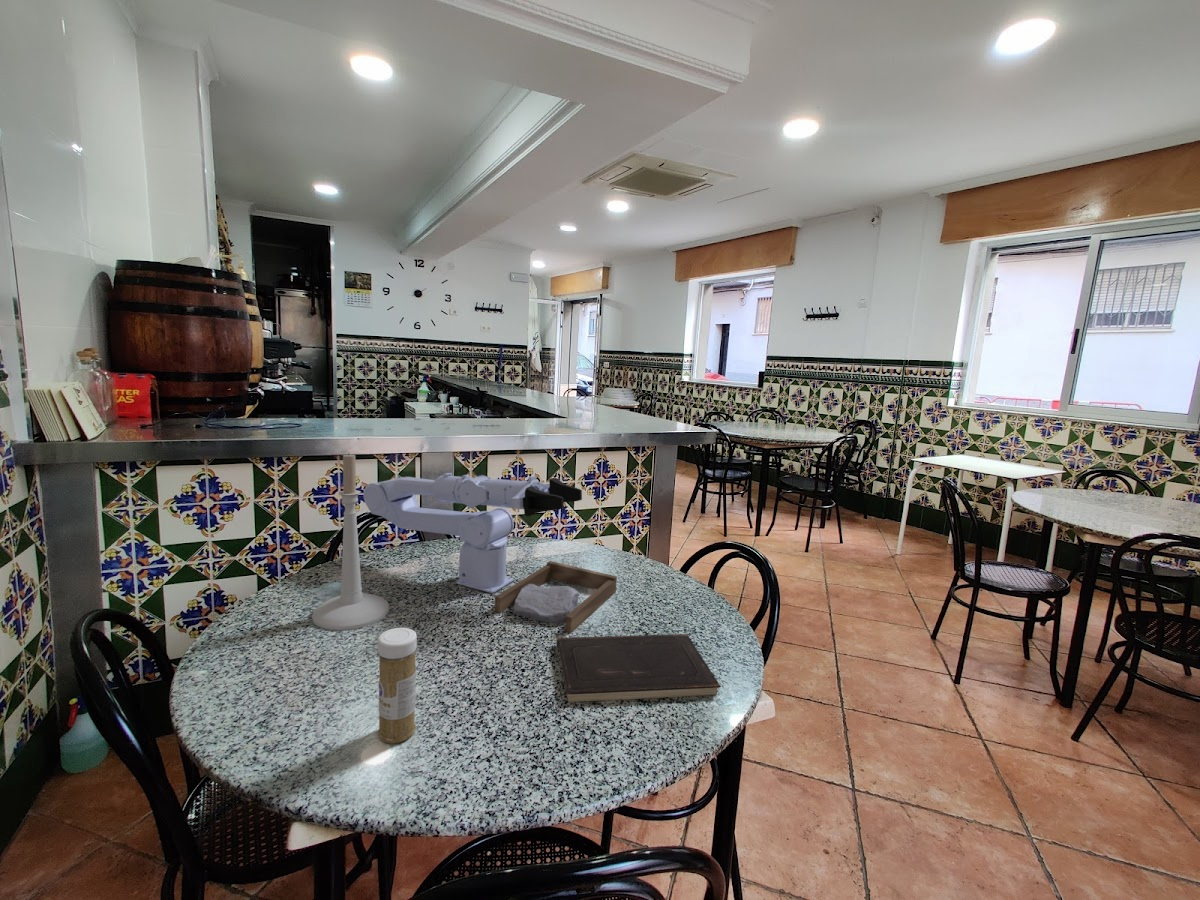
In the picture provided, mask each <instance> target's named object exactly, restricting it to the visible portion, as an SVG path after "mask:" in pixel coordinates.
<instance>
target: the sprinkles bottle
mask: <svg viewBox="0 0 1200 900" xmlns="http://www.w3.org/2000/svg"><path fill="white" fill-rule="evenodd" d="M417 642H418V637H417V633H416V631H414V630H413V629H411V628H407V627H395V628H391V629H388V630H385V631H384V632H382V633H381V634H380V635H379V636H378V638H377V653H378V657H379V660H378V661H379V679H378V716H379V717H378V718H379V720H378V723H379V724H378V725H379V727H378V731H377V732H378V733H377V735H378V738H379V739H380V740H381V741H382V742H383V743H387V744H398V743H402V742H404V741H406V740H408V739H409V738H411V737H412V736H413V735H414V734H415V732H416V727H417V726H416V722H415V721H416V720H415V717H416V716H415V715H416V714H415V712H416V711H415V709H416V697H417V695H416V694H417V691H416V689H417V687H416V685H417V684H416V681H417V680H416V678H417V677H416V675H417V672H416V671H417V670H416V650H417V647H418V643H417Z"/></svg>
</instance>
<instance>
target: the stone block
mask: <svg viewBox="0 0 1200 900" xmlns="http://www.w3.org/2000/svg"><path fill="white" fill-rule="evenodd" d="M578 600H579V592H578V591H577V589H576V588H574V587H572V586H568V585H554V586H553V585H552V586H551V587H544V586H539V587H538V586H536V585H534V584H528V585H526V586H525V587H523V588H522V589H521V591H520V593H519V594H518V596H517V598H516V600H515V603H514V604H513V612H514V614H515V615H517V616H521V617H525V618H529V619H533V620H536V621H540V622H543V623H550V624H554V625H555V624H565V621H566V616H567V615H568V614H569V613H570V612H571V611H572V610H574V609H575V608H576V607H577V606H578V603H579V601H578Z"/></svg>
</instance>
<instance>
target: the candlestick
mask: <svg viewBox="0 0 1200 900" xmlns="http://www.w3.org/2000/svg"><path fill="white" fill-rule="evenodd" d="M356 468H357V467H356V454H350V452H348V454H343V455H342V470H343V471H342V476H343V477H342V478H343V483H342V484H343V487H342V488H343V490H341V491H339V492H338V495H340V496H341V503H342V504H343V506H344V512H343V525H342V526H343V527H342V528H343V530H342V531H343V533H342V556H341V558H342V559H341V577H340V578H341V579H340V582H341V584H340V595H337V596H334V597H331V598H330V599H328V600H326V601H325V600H324V602H322V603H321V604H320V605H318V606H317V607H316V608H315V609H314V610H313V612H312V617H311V618H312V623H313V624H314V625H315V626H317V627H318V628H321V629H324V630H331V631H347V630H348V631H349V630H355V629H360V628H365V627H368V626H370V625H373V624H375V623H378V622H379V621H381V620H383V619H384V618H385V617H387V615H388V613H389V611H390V605H389V603H388V601H387V600H386V599H384V598H383V597H381V596H379V595H376V594H372V593H366V592H363V591H362V589H363V587H362V577H361V562H360V550H359V549H360V548H359V547H360V546H359V535H358V522H357V519H358V518H357V511H356V504H357V503H358V502H359V498H358V496H359V495H360V494H361V493H362V491H360V490H357V485H356V483H357V481H356V480H357V479H356V478H357V477H356Z"/></svg>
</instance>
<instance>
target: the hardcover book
mask: <svg viewBox="0 0 1200 900" xmlns="http://www.w3.org/2000/svg"><path fill="white" fill-rule="evenodd" d="M556 646H557V647H558V650H559V652H558V653H559V657H560V662H561V663H560V664H561V668H562V669H561V670H562V675H563V680H564V686H565V691H566V697H567V702H568V703H572V702H573V703H575V702H576V703H577V702H596V701H612V700H613V701H614V700H618V701H619V700H633V699H635V700H637V699H655V698H656V699H657V698H674V697H694V696H711V695H712V696H713V695H715V696H716V695H718V692H719V690H718V688H719V689H720V688H721V684H720V683H719V682H718V680H717V679H716V677H715V675H714V674H713V672H712V671H711V669H710V667H709V666H708V665H707V663H706V662H705V660H704V657H702V655H701V654H700V652H699V651H698V649H697V647H696V646H695V644H694V643H693V641H692V640H691V638H690V637H689V635H688V634H687V633H685V634H684V633H683V634H682V633H681V634H680V633H679V634H678V633H677V634H647V635H645V634H644V635H611V636H609V635H608V636H579V637H575V636H574V637H557V639H556Z"/></svg>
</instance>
